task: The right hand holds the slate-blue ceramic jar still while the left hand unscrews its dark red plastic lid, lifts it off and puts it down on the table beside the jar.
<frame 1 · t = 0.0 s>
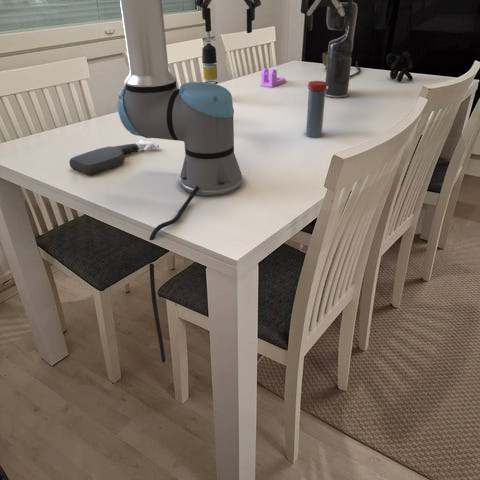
left hand: (228, 32, 139), 28 cm above the table, tool pointing down, fingers open, 13 cm apart
right hand: (324, 30, 129), 29 cm above the table, tool pointing down, fingers open, 8 cm apart
bracket: (274, 83, 199), on the table
lid: (317, 84, 132), point 15 cm above the table, screwed on, not yet turned
spray bottle: (117, 159, 125), on the table
bottle with thin stem: (211, 98, 179), on the table
jar: (313, 134, 140), on the table
cup: (328, 70, 221), on the table
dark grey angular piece: (399, 80, 200), on the table
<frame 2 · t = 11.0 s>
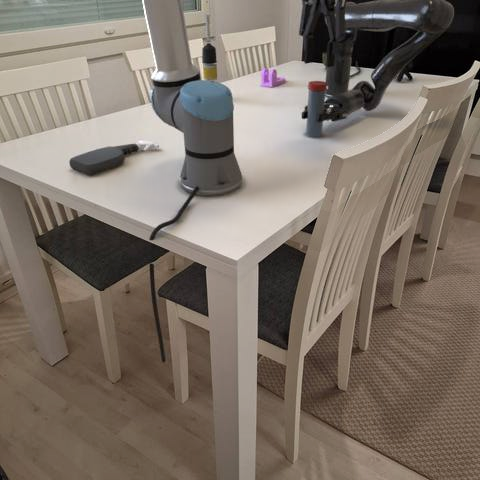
left hand: (318, 64, 129), 21 cm above the table, tool pointing down, fingers open, 7 cm apart
right hand: (310, 117, 135), 6 cm above the table, tool horizontal, fingers closed on jar, 5 cm apart
jar: (313, 134, 140), on the table, touching right hand
everything else where it was.
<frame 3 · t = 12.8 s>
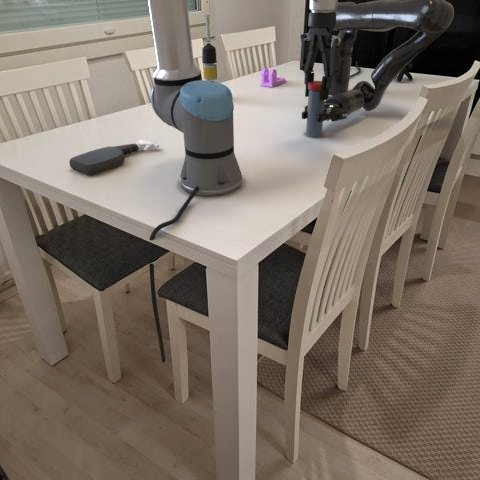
left hand: (316, 97, 134), 12 cm above the table, tool pointing down, fingers closed on lid, 5 cm apart
right hand: (310, 117, 135), 6 cm above the table, tool horizontal, fingers closed on jar, 5 cm apart
lid: (317, 84, 132), point 15 cm above the table, screwed on, not yet turned, touching left hand
jar: (313, 134, 140), on the table, touching right hand
everything else where it was.
when the left hand's fingers open (12 cm above the table, at t = 14.1 s): lid stays where it is, point 16 cm above the table.
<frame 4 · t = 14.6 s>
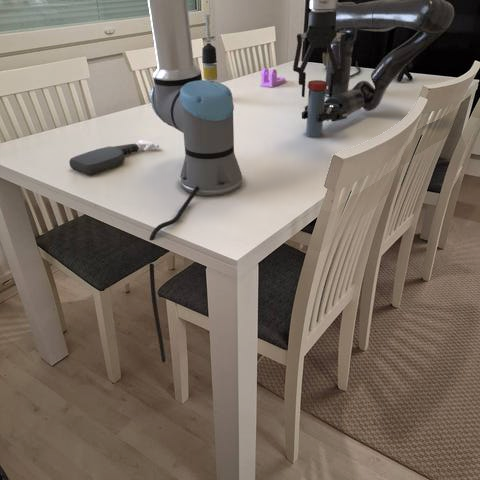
left hand: (316, 95, 133), 12 cm above the table, tool pointing down, fingers open, 7 cm apart
right hand: (310, 117, 135), 6 cm above the table, tool horizontal, fingers closed on jar, 5 cm apart
lid: (317, 83, 132), point 16 cm above the table, turned 86° so far, risen 0.2 cm, still on its thread
jar: (313, 134, 140), on the table, touching right hand
everything else where it was.
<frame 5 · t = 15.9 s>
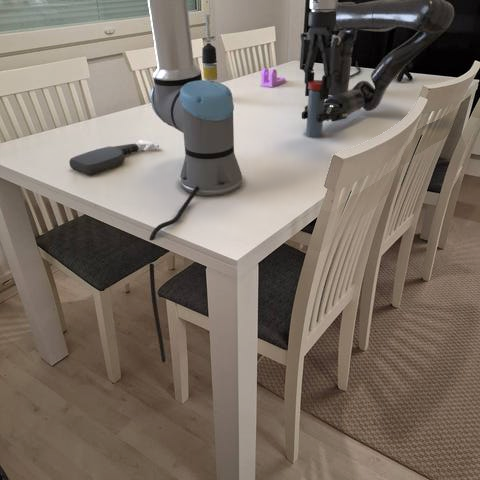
left hand: (316, 96, 134), 12 cm above the table, tool pointing down, fingers closed on lid, 5 cm apart
right hand: (310, 117, 135), 6 cm above the table, tool horizontal, fingers closed on jar, 5 cm apart
lid: (317, 83, 132), point 16 cm above the table, turned 86° so far, risen 0.2 cm, still on its thread, touching left hand
jar: (313, 134, 140), on the table, touching right hand
everything else where it was.
when the left hand's fingers open (0 cm above the table, at t = 21.8 s): lid drops 3 cm, point 1 cm above the table.
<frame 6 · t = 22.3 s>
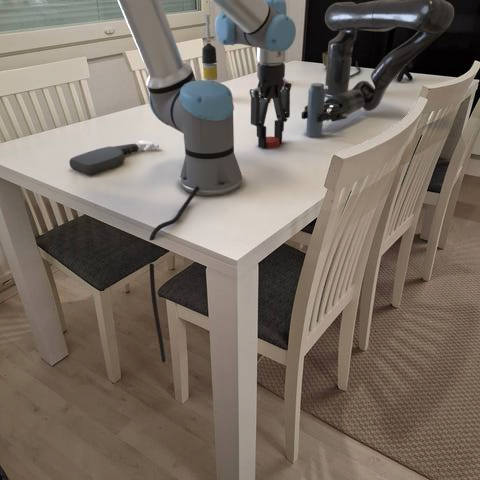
left hand: (270, 144, 133), 0 cm above the table, tool pointing down, fingers open, 6 cm apart
right hand: (310, 117, 135), 6 cm above the table, tool horizontal, fingers closed on jar, 5 cm apart
lid: (270, 140, 132), point 1 cm above the table, off its thread, touching left hand
jar: (313, 134, 140), on the table, touching right hand
everything else where it was.
when the right hand's fingers open (6 cm above the table, at t = 23.7 s): jar stays where it is, on the table.
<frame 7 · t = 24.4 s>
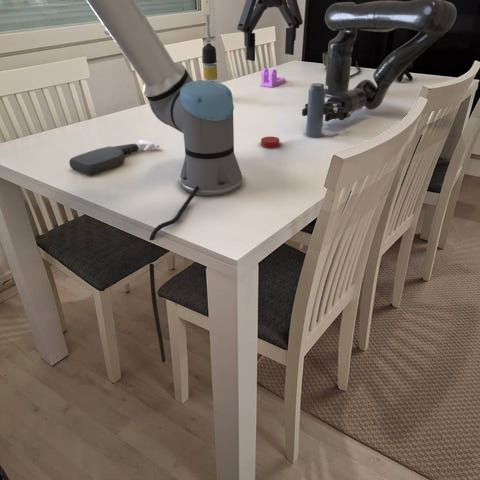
left hand: (270, 57, 120), 25 cm above the table, tool pointing down, fingers open, 13 cm apart
right hand: (314, 115, 137), 6 cm above the table, tool horizontal, fingers open, 8 cm apart
lid: (270, 140, 132), point 1 cm above the table, off its thread
jar: (313, 134, 140), on the table
everything else where it was.
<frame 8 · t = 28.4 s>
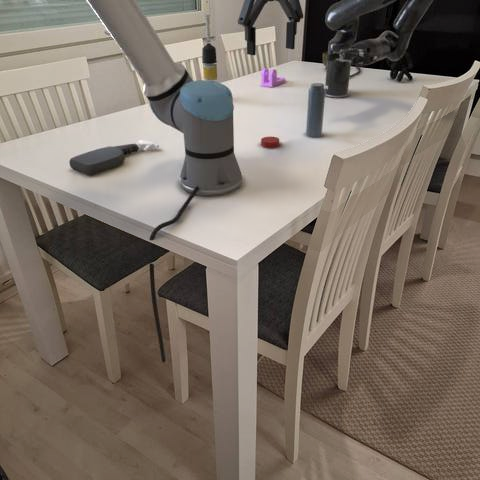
left hand: (271, 51, 119), 26 cm above the table, tool pointing down, fingers open, 13 cm apart
right hand: (340, 59, 135), 21 cm above the table, tool horizontal, fingers open, 8 cm apart
nothing on the table moved.
at the end: lid came off its thread; lid point 1.3 cm above the table; the left hand is holding nothing; the right hand is holding nothing; jar tilted 0°; jar moved 0.0 cm from its start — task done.
